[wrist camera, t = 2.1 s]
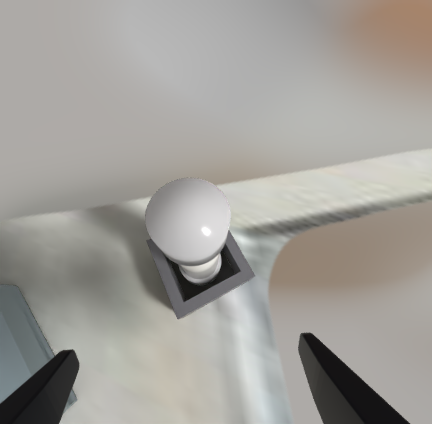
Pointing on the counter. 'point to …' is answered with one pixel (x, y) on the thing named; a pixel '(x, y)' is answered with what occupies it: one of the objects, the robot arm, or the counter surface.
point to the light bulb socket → (202, 299)
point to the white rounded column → (190, 226)
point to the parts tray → (20, 343)
